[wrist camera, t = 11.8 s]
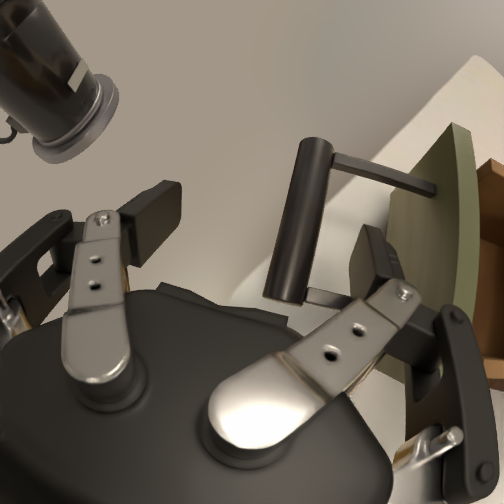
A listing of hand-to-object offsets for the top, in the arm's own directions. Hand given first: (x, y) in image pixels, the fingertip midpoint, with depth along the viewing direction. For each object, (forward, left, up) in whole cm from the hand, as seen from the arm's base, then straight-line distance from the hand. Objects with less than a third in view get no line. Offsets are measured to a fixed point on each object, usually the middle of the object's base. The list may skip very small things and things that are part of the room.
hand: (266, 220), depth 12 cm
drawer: (+11, 0, -6) cm, 13 cm away
